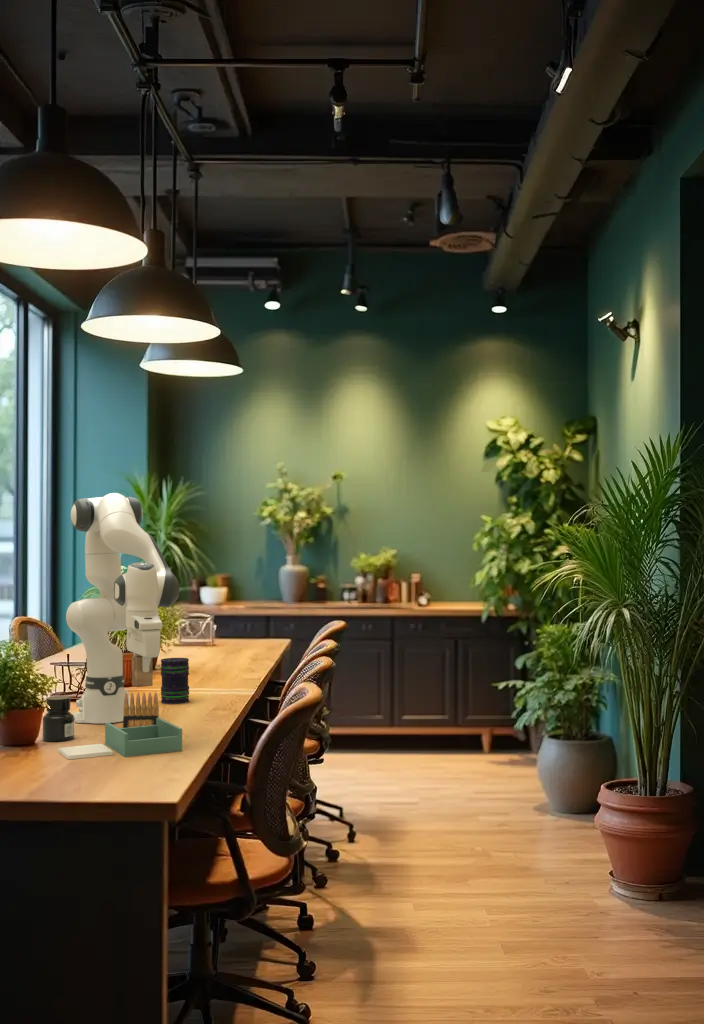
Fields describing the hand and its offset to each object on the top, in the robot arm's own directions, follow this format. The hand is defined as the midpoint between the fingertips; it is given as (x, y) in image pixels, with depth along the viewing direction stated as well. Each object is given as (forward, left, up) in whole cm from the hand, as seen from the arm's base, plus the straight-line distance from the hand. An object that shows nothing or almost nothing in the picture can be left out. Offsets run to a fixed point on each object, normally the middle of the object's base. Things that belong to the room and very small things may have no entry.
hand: (142, 670), depth 304 cm
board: (0, -16, -21) cm, 27 cm away
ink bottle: (-24, -18, -22) cm, 37 cm away
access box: (0, 0, -21) cm, 21 cm away
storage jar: (-72, +33, -22) cm, 82 cm away
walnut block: (0, 0, -4) cm, 4 cm away
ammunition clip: (-22, +6, -22) cm, 31 cm away
